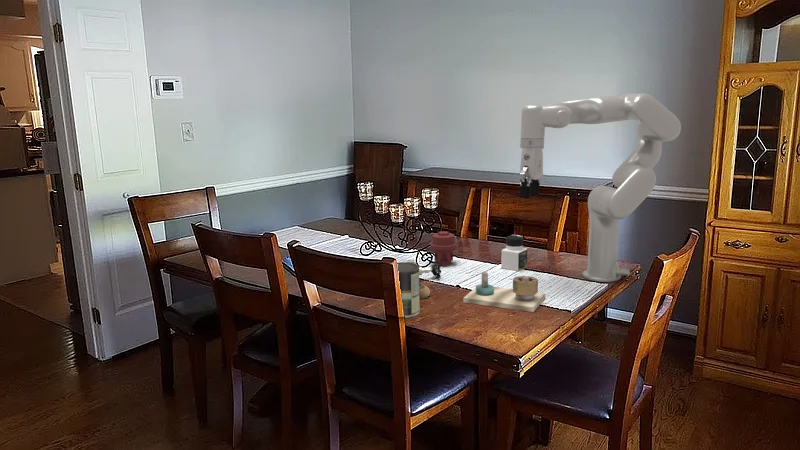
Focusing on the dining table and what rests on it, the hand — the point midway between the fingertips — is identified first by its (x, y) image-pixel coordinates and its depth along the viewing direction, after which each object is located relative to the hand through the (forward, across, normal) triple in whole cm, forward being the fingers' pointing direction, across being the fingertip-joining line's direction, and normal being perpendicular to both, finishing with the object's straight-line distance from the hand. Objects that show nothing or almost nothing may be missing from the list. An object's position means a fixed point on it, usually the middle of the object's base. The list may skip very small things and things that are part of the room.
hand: (529, 196), depth 203 cm
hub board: (+30, -20, 0) cm, 36 cm away
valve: (+31, -11, +34) cm, 47 cm away
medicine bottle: (+30, +16, +10) cm, 35 cm away
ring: (+26, -19, -6) cm, 33 cm away
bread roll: (+31, -27, +28) cm, 50 cm away
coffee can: (+31, -43, +24) cm, 58 cm away
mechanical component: (+31, +10, +35) cm, 48 cm away
